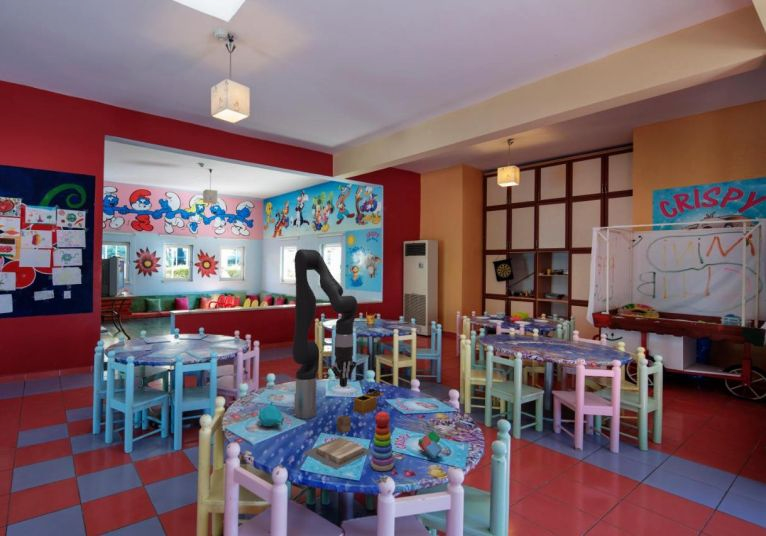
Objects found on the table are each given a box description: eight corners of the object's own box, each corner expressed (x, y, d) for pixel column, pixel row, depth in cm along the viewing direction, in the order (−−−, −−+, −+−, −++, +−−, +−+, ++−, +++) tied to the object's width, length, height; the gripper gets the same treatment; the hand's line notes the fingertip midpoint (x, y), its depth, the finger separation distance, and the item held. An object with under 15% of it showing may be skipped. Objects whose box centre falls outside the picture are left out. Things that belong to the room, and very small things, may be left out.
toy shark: (269, 418, 183) (269, 394, 182) (294, 429, 171) (294, 403, 171) (249, 424, 175) (249, 399, 175) (274, 436, 163) (274, 409, 163)
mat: (302, 454, 148) (302, 452, 148) (339, 438, 161) (339, 437, 161) (336, 471, 136) (336, 469, 136) (373, 453, 150) (373, 451, 150)
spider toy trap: (384, 406, 200) (384, 387, 200) (363, 414, 188) (363, 394, 188) (374, 403, 204) (374, 384, 204) (353, 411, 193) (353, 391, 193)
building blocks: (432, 463, 152) (434, 457, 142) (417, 446, 156) (417, 439, 146) (447, 448, 155) (449, 441, 145) (431, 431, 159) (433, 423, 149)
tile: (316, 447, 147) (339, 458, 140) (341, 437, 156) (363, 447, 149) (316, 453, 147) (339, 464, 140) (341, 443, 156) (363, 452, 149)
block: (336, 431, 168) (336, 417, 168) (343, 429, 171) (343, 414, 171) (343, 434, 166) (343, 419, 166) (350, 431, 169) (350, 417, 169)
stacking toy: (370, 461, 144) (370, 407, 143) (392, 460, 144) (393, 407, 144) (371, 472, 136) (372, 416, 136) (395, 471, 136) (396, 415, 136)
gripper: (349, 341, 175) (348, 381, 176) (325, 345, 166) (324, 388, 166) (362, 343, 170) (361, 385, 171) (338, 348, 161) (337, 392, 161)
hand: (343, 386), depth 168 cm, fingers closed
